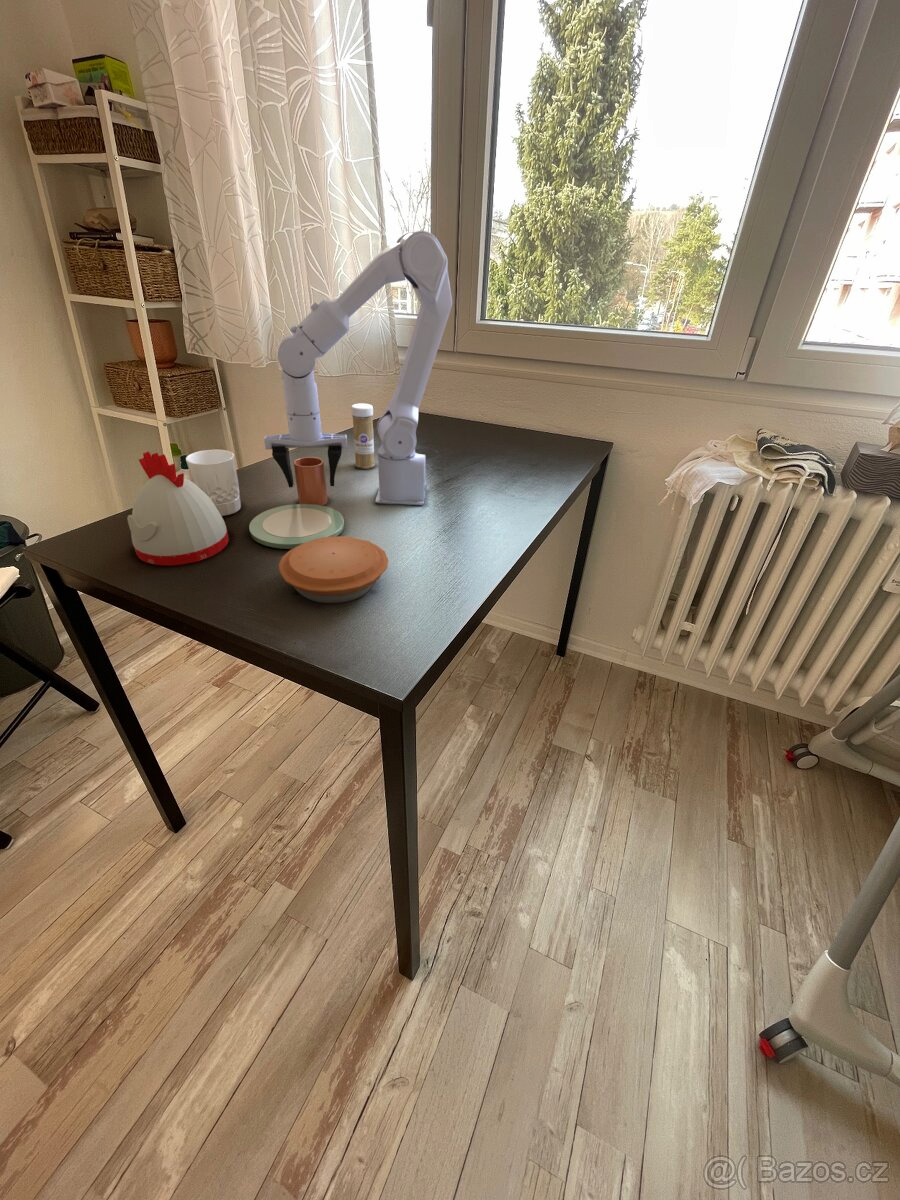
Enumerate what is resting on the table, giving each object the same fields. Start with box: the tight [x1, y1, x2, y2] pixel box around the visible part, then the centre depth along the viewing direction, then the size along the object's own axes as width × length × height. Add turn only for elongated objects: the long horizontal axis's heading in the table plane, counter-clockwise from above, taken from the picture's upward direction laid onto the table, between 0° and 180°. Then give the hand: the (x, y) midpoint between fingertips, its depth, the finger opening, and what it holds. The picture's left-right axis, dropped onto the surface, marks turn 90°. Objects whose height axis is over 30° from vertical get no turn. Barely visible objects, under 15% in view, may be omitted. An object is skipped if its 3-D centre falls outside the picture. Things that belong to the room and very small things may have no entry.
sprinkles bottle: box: [350, 402, 376, 470], centre depth 113 cm, size 5×5×14 cm
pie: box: [278, 535, 389, 604], centre depth 74 cm, size 16×16×5 cm
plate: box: [248, 503, 345, 550], centre depth 89 cm, size 16×16×1 cm
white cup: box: [185, 449, 242, 517], centre depth 92 cm, size 8×8×10 cm
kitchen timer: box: [126, 451, 230, 567], centre depth 79 cm, size 14×14×15 cm
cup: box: [293, 456, 329, 506], centre depth 97 cm, size 5×5×8 cm
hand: (312, 484), depth 98 cm, fingers open, 7 cm apart
